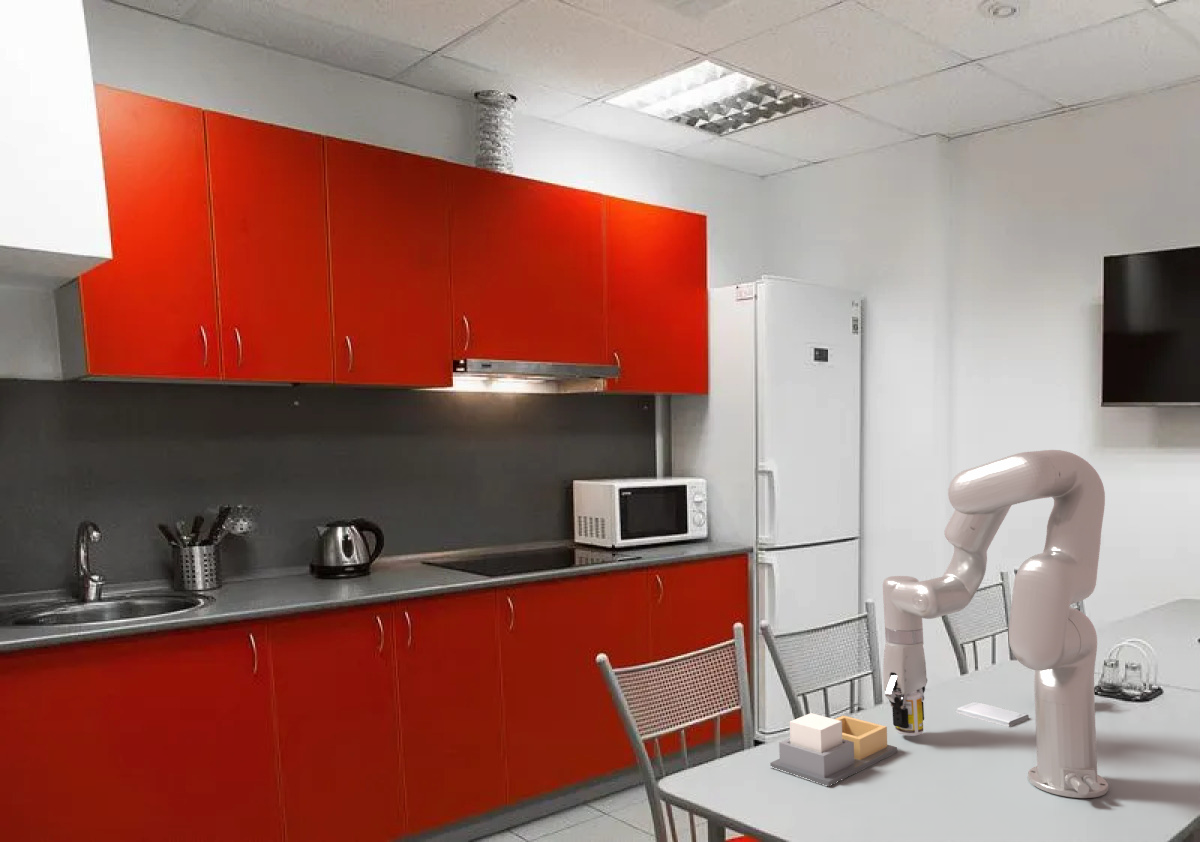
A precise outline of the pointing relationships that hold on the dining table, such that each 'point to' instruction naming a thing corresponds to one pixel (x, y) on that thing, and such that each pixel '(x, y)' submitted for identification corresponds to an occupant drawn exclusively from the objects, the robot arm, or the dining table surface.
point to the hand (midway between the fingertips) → (908, 722)
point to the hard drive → (992, 714)
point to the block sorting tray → (832, 747)
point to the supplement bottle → (913, 714)
